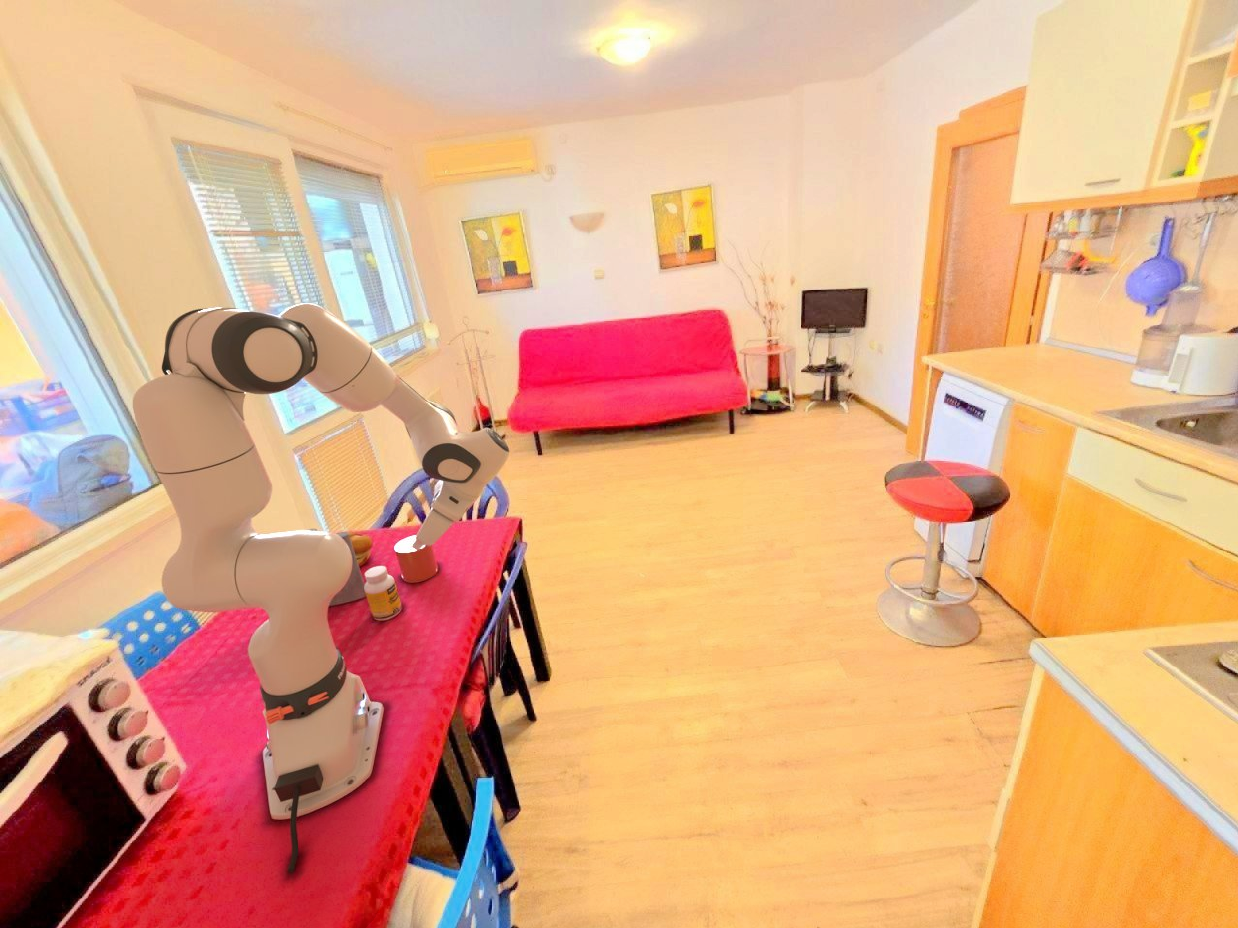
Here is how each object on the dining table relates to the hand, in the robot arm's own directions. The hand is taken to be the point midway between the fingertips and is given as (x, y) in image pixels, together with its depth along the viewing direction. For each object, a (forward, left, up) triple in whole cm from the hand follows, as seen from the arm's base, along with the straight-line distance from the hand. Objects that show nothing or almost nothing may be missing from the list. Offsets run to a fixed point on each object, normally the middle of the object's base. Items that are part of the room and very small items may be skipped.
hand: (421, 536), depth 114 cm
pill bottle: (+4, +11, -19) cm, 23 cm away
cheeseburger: (+35, +18, -19) cm, 44 cm away
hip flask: (+17, +23, -19) cm, 35 cm away
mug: (+19, +2, -19) cm, 27 cm away
